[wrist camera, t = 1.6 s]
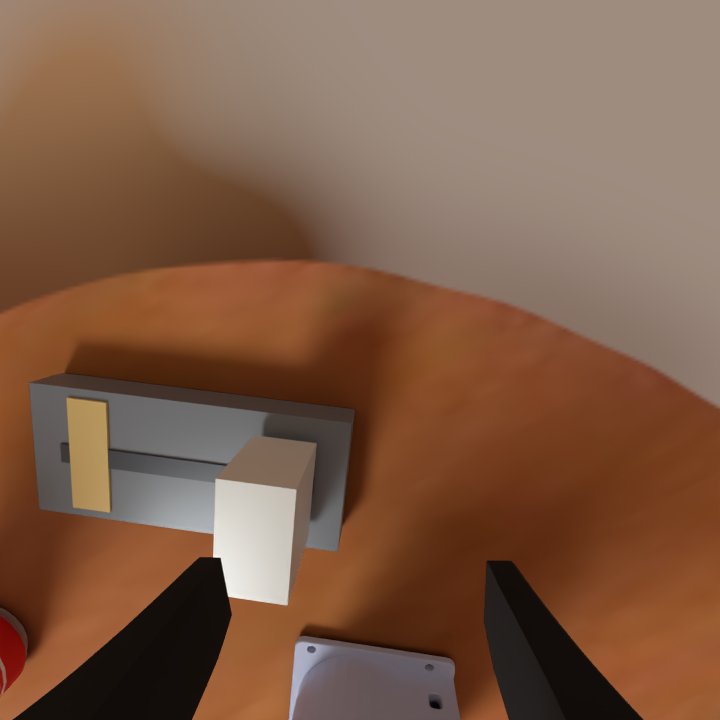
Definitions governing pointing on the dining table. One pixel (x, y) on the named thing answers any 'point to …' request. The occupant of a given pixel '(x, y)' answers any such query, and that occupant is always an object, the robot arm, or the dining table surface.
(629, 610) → the dining table surface
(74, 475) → the fader deck
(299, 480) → the fader knob
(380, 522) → the dining table surface
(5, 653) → the beer can
